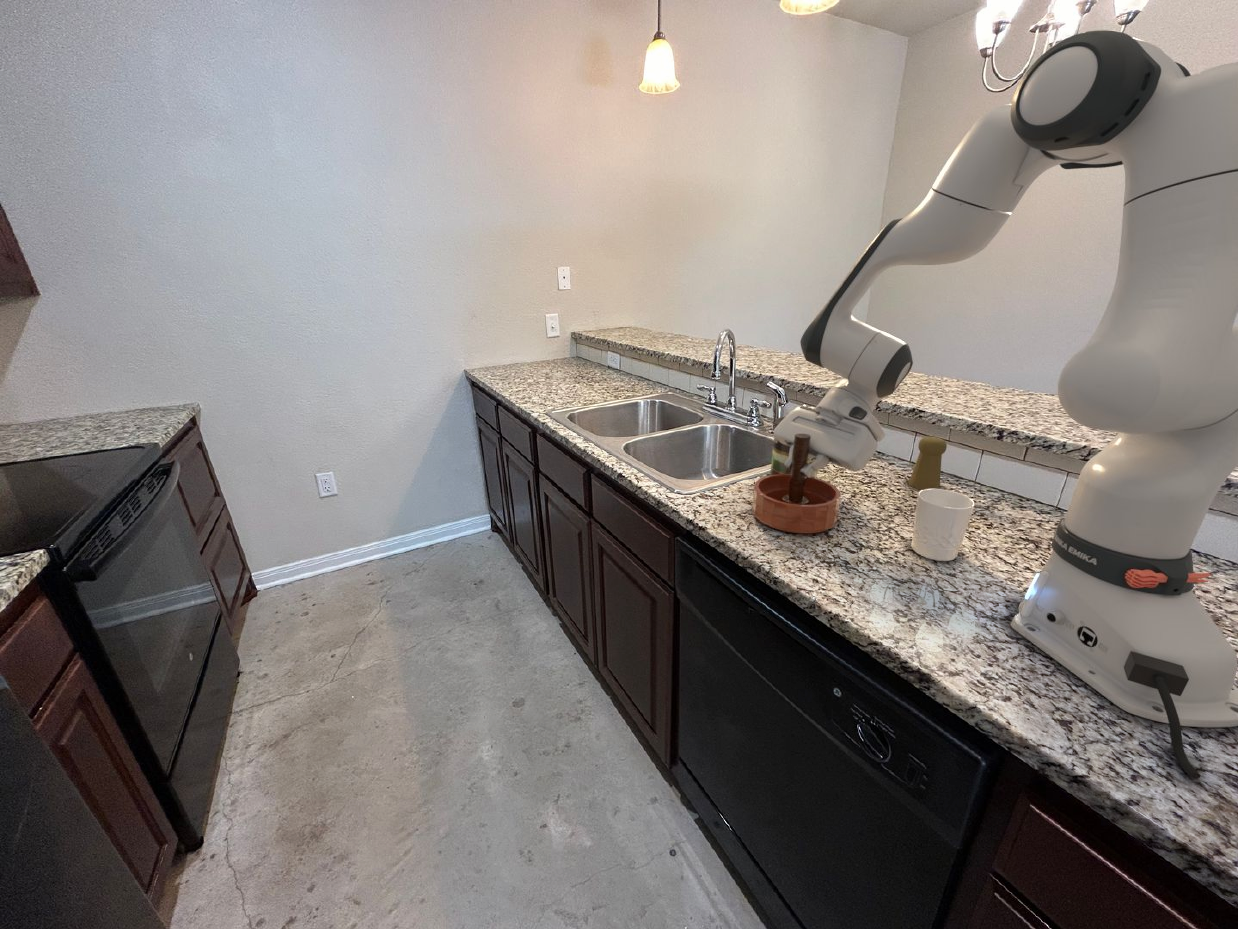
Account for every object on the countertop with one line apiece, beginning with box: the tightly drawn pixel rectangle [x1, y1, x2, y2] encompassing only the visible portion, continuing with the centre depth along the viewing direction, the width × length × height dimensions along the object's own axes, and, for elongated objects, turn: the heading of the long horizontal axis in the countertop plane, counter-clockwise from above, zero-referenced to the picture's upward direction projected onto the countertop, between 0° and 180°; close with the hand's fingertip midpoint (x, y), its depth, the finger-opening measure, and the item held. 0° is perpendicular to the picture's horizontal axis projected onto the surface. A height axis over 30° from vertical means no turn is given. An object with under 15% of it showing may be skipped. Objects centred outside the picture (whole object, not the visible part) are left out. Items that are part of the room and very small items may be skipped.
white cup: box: [910, 488, 976, 562], centre depth 83 cm, size 8×8×10 cm
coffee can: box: [769, 415, 818, 478], centre depth 112 cm, size 10×10×14 cm
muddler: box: [782, 434, 811, 505], centre depth 95 cm, size 5×5×16 cm
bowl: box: [752, 474, 841, 534], centre depth 97 cm, size 16×16×6 cm
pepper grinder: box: [908, 436, 948, 491], centre depth 109 cm, size 6×6×11 cm
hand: (796, 471), depth 94 cm, fingers closed on muddler, 3 cm apart
